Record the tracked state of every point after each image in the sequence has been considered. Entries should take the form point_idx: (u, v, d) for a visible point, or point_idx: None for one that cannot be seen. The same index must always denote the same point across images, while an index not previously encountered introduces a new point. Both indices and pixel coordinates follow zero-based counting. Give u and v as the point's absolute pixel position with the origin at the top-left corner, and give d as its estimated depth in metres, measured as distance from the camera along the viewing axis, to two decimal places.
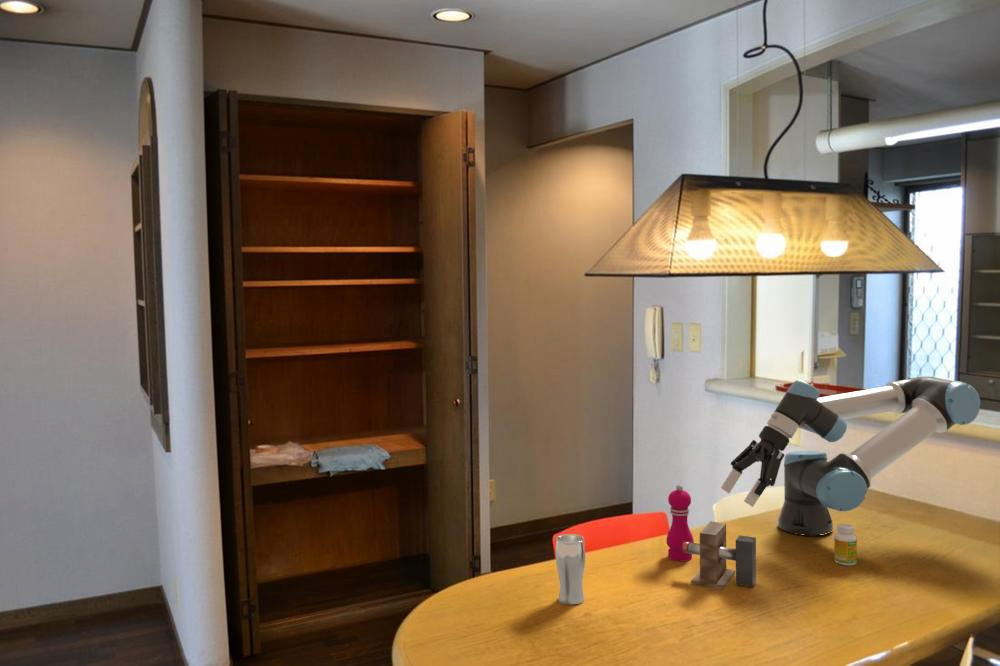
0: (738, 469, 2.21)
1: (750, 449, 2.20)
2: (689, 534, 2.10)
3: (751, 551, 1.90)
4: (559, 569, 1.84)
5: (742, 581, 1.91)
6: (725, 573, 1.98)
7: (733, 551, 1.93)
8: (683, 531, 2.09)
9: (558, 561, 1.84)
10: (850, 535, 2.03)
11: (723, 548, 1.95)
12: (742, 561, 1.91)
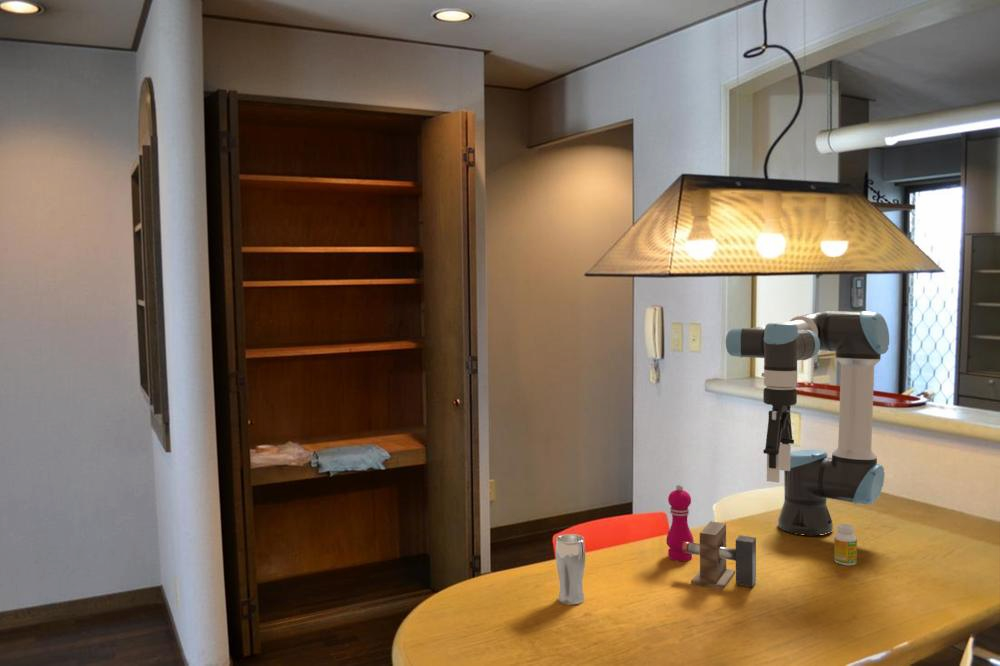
0: (785, 441, 1.94)
1: None
2: (689, 534, 2.10)
3: (751, 551, 1.90)
4: (559, 569, 1.84)
5: (742, 581, 1.91)
6: (725, 573, 1.98)
7: (733, 551, 1.93)
8: (683, 531, 2.09)
9: (558, 561, 1.84)
10: (850, 535, 2.03)
11: (723, 548, 1.95)
12: (742, 561, 1.91)
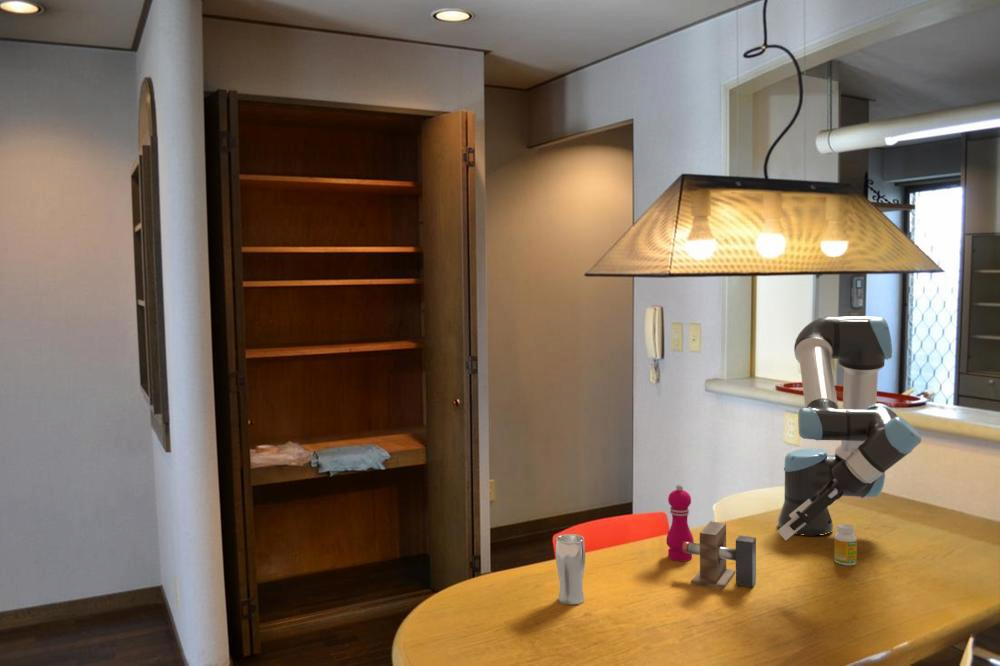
0: None
1: None
2: (689, 534, 2.10)
3: (751, 551, 1.90)
4: (559, 569, 1.84)
5: (742, 581, 1.91)
6: (725, 573, 1.98)
7: (733, 551, 1.93)
8: (683, 531, 2.09)
9: (558, 561, 1.84)
10: (850, 535, 2.03)
11: (723, 548, 1.95)
12: (742, 561, 1.91)
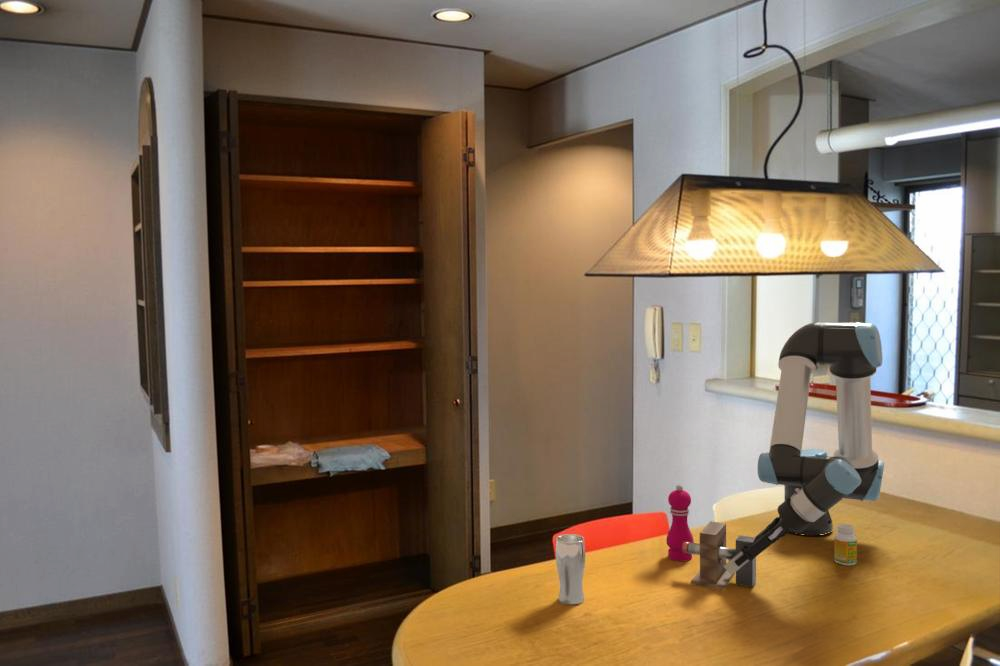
0: None
1: None
2: (689, 534, 2.10)
3: None
4: (559, 569, 1.84)
5: (742, 581, 1.91)
6: (725, 573, 1.98)
7: (733, 551, 1.93)
8: (683, 531, 2.09)
9: (558, 561, 1.84)
10: (850, 535, 2.03)
11: (723, 548, 1.95)
12: None
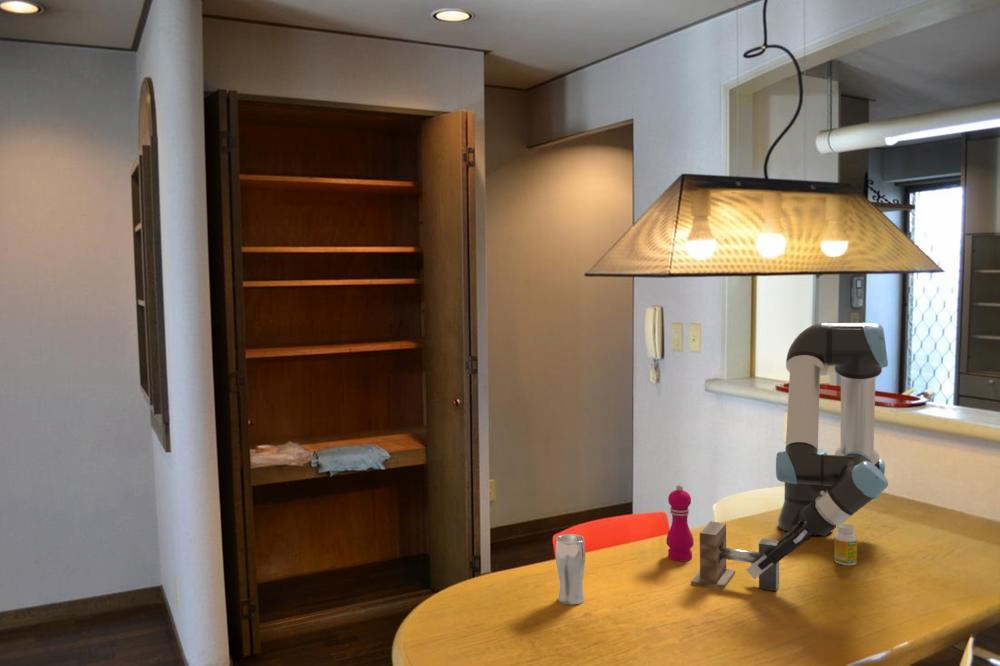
0: None
1: None
2: (689, 534, 2.10)
3: None
4: (559, 569, 1.84)
5: (765, 585, 1.89)
6: (725, 573, 1.98)
7: (756, 555, 1.90)
8: (683, 531, 2.09)
9: (558, 561, 1.84)
10: (850, 535, 2.03)
11: (746, 551, 1.92)
12: None
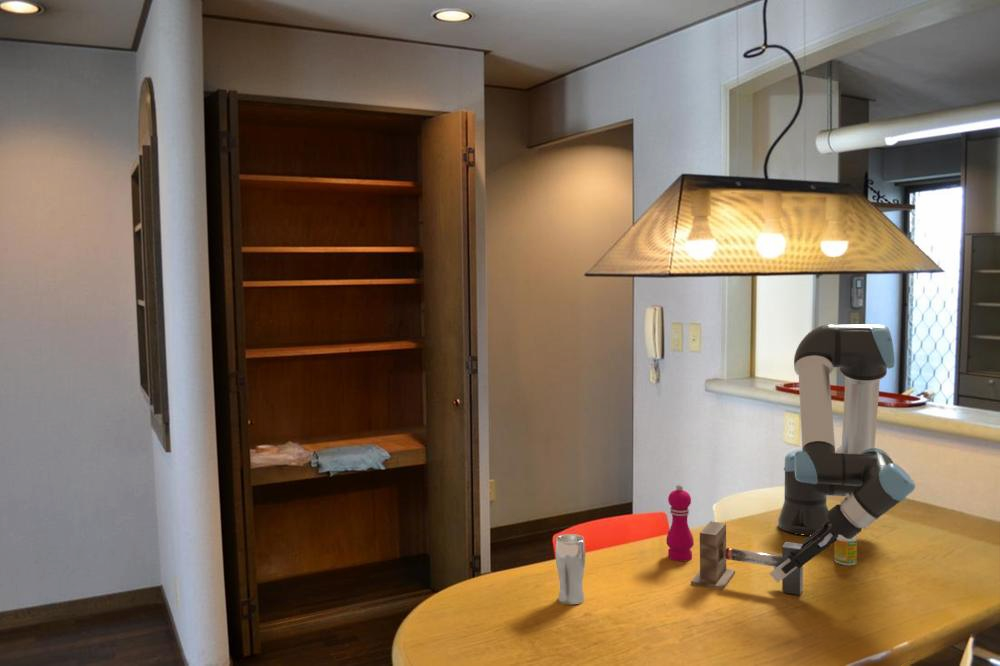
0: None
1: None
2: (689, 534, 2.10)
3: None
4: (559, 569, 1.84)
5: (789, 589, 1.86)
6: (725, 573, 1.98)
7: (779, 558, 1.87)
8: (683, 531, 2.09)
9: (558, 561, 1.84)
10: None
11: (769, 555, 1.89)
12: None
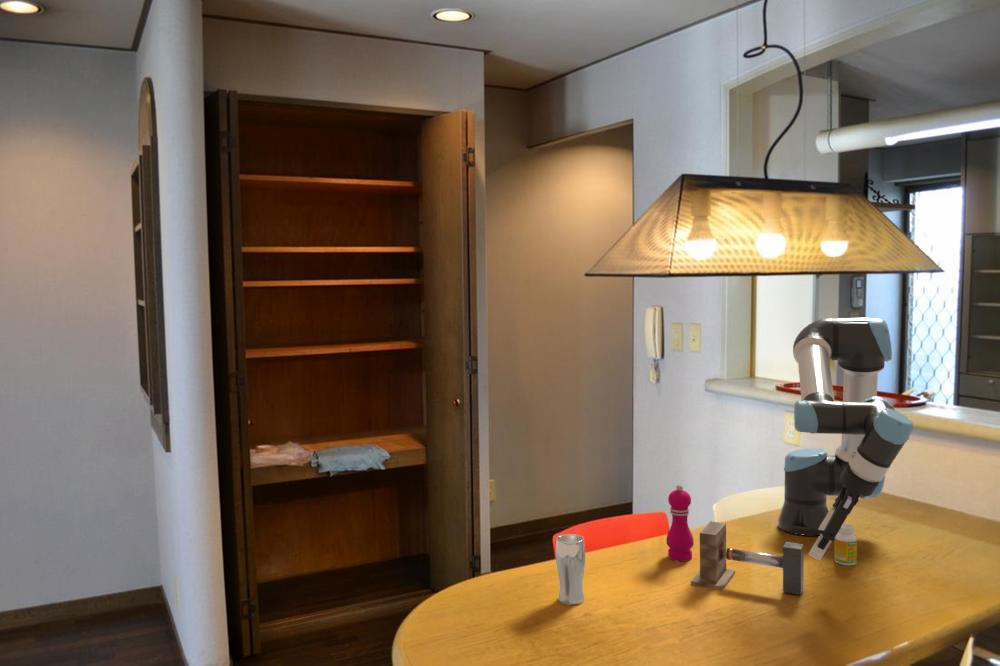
0: None
1: (847, 487, 1.84)
2: (689, 534, 2.10)
3: (799, 558, 1.84)
4: (559, 569, 1.84)
5: (790, 589, 1.86)
6: (725, 573, 1.98)
7: (780, 558, 1.87)
8: (683, 531, 2.09)
9: (558, 561, 1.84)
10: (850, 535, 2.03)
11: (769, 555, 1.89)
12: (790, 568, 1.85)
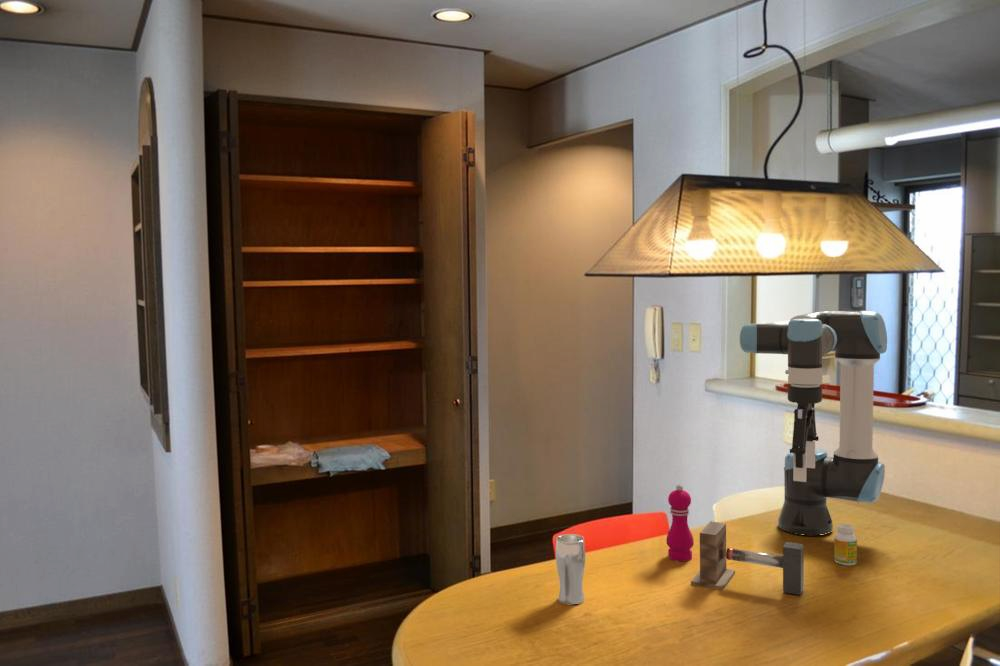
0: (810, 438, 1.91)
1: None
2: (689, 534, 2.10)
3: (799, 558, 1.84)
4: (559, 569, 1.84)
5: (790, 589, 1.86)
6: (725, 573, 1.98)
7: (780, 558, 1.87)
8: (683, 531, 2.09)
9: (558, 561, 1.84)
10: (850, 535, 2.03)
11: (769, 555, 1.89)
12: (790, 568, 1.85)
